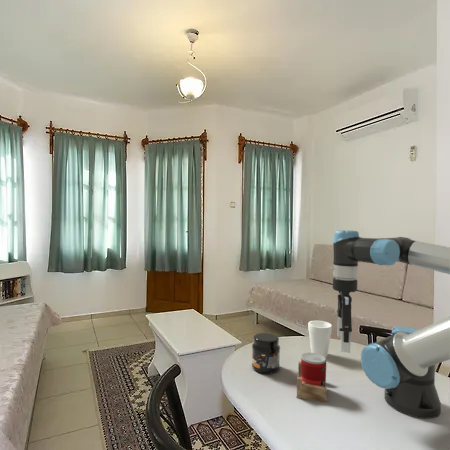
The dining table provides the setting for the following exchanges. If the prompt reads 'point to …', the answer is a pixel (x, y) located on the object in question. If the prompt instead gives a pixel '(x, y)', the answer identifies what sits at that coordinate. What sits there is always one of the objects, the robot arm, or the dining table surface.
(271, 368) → the supplement container
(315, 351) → the foam cup
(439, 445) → the dining table surface
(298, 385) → the chute
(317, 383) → the canned food
